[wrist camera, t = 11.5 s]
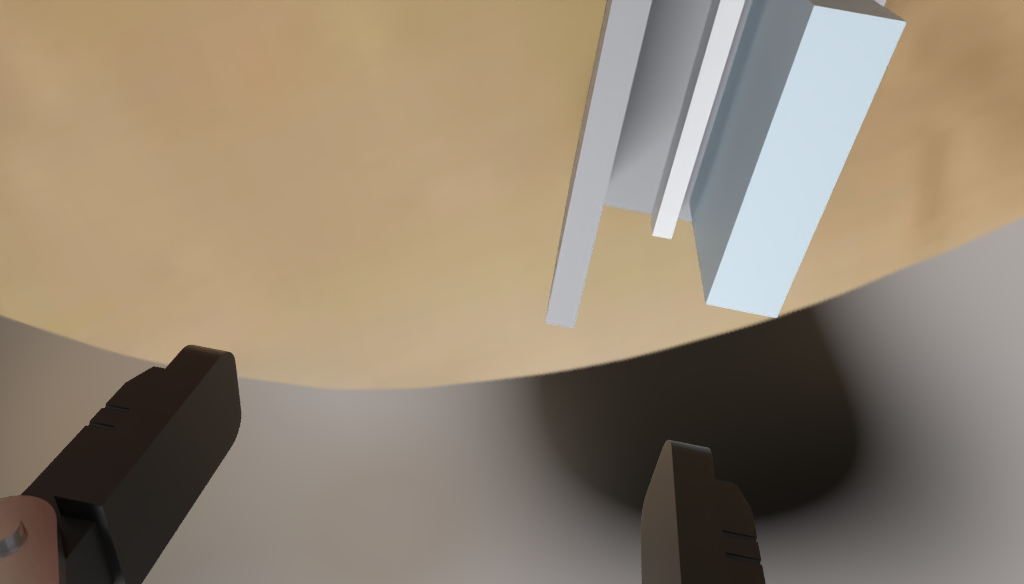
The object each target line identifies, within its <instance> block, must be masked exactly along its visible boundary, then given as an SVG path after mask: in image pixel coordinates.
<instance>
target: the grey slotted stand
mask: <svg viewBox="0 0 1024 584" xmlns="http://www.w3.org/2000/svg"><path fill="white" fill-rule="evenodd" d="M874 1H876V2H877V3H879V4H880V5H882V6H883V7H884V5H885V3H886V0H874ZM751 3H752V0H607V3H606V8H605V13H604V18H603V23H602V28H601V33H600V38H599V43H598V47H597V52H596V57H595V62H594V67H593V72H592V77H591V82H590V87H589V91H588V96H587V101H586V106H585V111H584V116H583V121H582V126H581V131H580V135H579V140H578V145H577V150H576V155H575V160H574V165H573V170H572V175H571V180H570V185H569V190H568V196H567V202H566V207H565V213H564V219H563V224H562V230H561V236H560V241H559V247H558V253H557V258H556V264H555V270H554V275H553V281H552V287H551V292H550V298H549V304H548V309H547V315H546V321H545V323H548V324H553V325H558V326H563V327H568V328H573V329H574V326H575V322H576V318H577V313H578V309H579V305H580V301H581V297H582V293H583V288H584V284H585V280H586V276H587V272H588V267H589V263H590V259H591V255H592V251H593V246H594V242H595V238H596V234H597V230H598V225H599V221H600V217H601V213H602V209H603V205H606V206H611V207H616V208H622V209H627V210H632V211H637V212H642V213H648V214H651V223H652V236H657V237H662V238H668V239H671V238H672V235H673V232H674V229H675V225H676V222H677V219H679V220H684V221H689V222H692V217H691V211H690V205H689V200H690V197H691V194H692V191H693V187H694V184H695V181H696V178H697V175H698V172H699V168H700V165H701V162H702V159H703V156H704V152H705V149H706V146H707V143H708V140H709V137H710V133H711V130H712V127H713V124H714V121H715V118H716V114H717V111H718V108H719V105H720V102H721V98H722V95H723V92H724V89H725V86H726V83H727V79H728V76H729V73H730V70H731V67H732V64H733V60H734V57H735V54H736V51H737V48H738V45H739V41H740V38H741V35H742V32H743V29H744V25H745V22H746V19H747V16H748V13H749V10H750V6H751Z"/></svg>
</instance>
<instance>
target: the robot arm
mask: <svg viewBox="0 0 1024 584" xmlns="http://www.w3.org/2000/svg"><path fill="white" fill-rule="evenodd" d="M240 422H241V406H240V397H239V389H238V381H237V371H236V363H235V358H234V356H233V354H232V353H231V352H226V351H221V350H216V349H211V348H206V347H201V346H196V345H188V346H186V347H184V348H183V349H182V350H181V351H180V353H179V354H178V355H177V356H176V357H175V358H174V359H173V360H172V362H171V363H170V364H169V365H168V366H167V367H166V368H165V369H164V368H159V367H152V368H150V369H148V370H147V371H145V372H143V373H141V374H140V375H138V376H136V377H135V378H133V379H131V380H129V381H128V382H126V383H125V384H124V385H123V386H122V387H121V388H120V389H119V390H118V391H117V392H116V394H115V395H114V396H113V397H112V398H111V399H110V400H109V401H108V402H107V403H106V407H105V408H102V409H101V410H100V411H99V412H98V413H97V414H96V415H95V416H94V417H93V418H92V419H91V420H90V424H89V426H85V427H84V428H83V429H82V430H81V431H80V432H79V433H78V434H77V435H76V437H75V438H74V439H73V440H72V441H71V442H70V443H69V444H68V445H67V446H66V447H65V448H64V449H63V450H62V452H61V453H60V454H59V455H58V456H57V457H56V458H55V459H54V460H53V461H52V462H51V463H50V464H49V466H48V467H47V468H46V469H45V470H44V471H43V472H42V473H41V474H40V475H39V476H38V478H36V480H35V481H34V482H33V483H32V484H31V485H30V486H29V487H28V488H27V489H26V490H25V491H24V492H23V493H22V494H21V495H19V496H9V497H5V498H0V584H142V582H143V581H144V579H145V578H146V576H147V575H148V573H149V572H150V570H151V569H152V567H153V566H154V564H155V563H156V561H157V559H158V558H159V556H160V555H161V553H162V552H163V550H164V549H165V547H166V546H167V544H168V543H169V541H170V540H171V538H172V537H173V535H174V534H175V532H176V531H177V529H178V527H179V526H180V524H181V523H182V521H183V520H184V518H185V517H186V515H187V514H188V512H189V510H190V509H191V508H192V506H193V505H194V503H195V502H196V500H197V498H198V497H199V495H200V494H201V492H202V491H203V489H204V488H205V486H206V485H207V483H208V482H209V480H210V479H211V477H212V475H213V474H214V473H215V471H216V469H217V468H218V467H219V465H220V463H221V462H222V460H223V459H224V457H225V456H226V454H227V452H228V451H229V450H230V448H231V447H232V445H233V443H234V441H235V439H236V437H237V434H238V431H239V427H240ZM756 538H757V535H756V530H755V524H754V519H753V514H752V510H751V508H750V506H749V504H748V503H747V501H746V500H745V498H744V496H743V495H742V493H741V492H740V490H739V488H738V487H737V485H736V484H735V483H730V482H725V481H719V480H715V474H714V467H713V459H712V453H711V450H710V449H709V448H707V447H702V446H697V445H692V444H686V443H681V442H676V441H671V440H667V441H666V442H665V445H664V447H663V449H662V452H661V455H660V458H659V460H658V463H657V466H656V469H655V472H654V474H653V477H652V480H651V483H650V486H649V488H648V491H647V494H646V497H645V501H644V506H643V512H642V519H641V563H642V564H641V566H642V567H641V568H642V584H765V578H764V573H763V568H762V565H760V561H761V557H760V551H759V546H758V542H756Z"/></svg>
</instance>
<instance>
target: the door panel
mask: <svg viewBox="0 0 1024 584" xmlns="http://www.w3.org/2000/svg"><path fill="white" fill-rule="evenodd" d="M905 24H906V21H905V20H903V19H902V18H900V17H899V16H897V15H895V14H894V13H892V12H891V11H889V10H888V9H886V8H885V7H883V6H882V5H880V4H879V3H877V2H876V1H874V0H752V3H751V6H750V10H749V13H748V16H747V19H746V22H745V25H744V29H743V32H742V35H741V38H740V41H739V45H738V48H737V51H736V54H735V57H734V60H733V64H732V67H731V70H730V73H729V76H728V79H727V83H726V86H725V89H724V92H723V95H722V98H721V102H720V105H719V108H718V111H717V114H716V118H715V121H714V124H713V127H712V130H711V133H710V137H709V140H708V143H707V146H706V149H705V152H704V156H703V159H702V162H701V165H700V168H699V172H698V175H697V178H696V181H695V184H694V187H693V191H692V194H691V197H690V200H689V205H690V211H691V217H692V223H693V230H694V236H695V242H696V248H697V254H698V260H699V266H700V272H701V279H702V285H703V291H704V297H705V303H706V304H708V305H713V306H718V307H723V308H728V309H733V310H738V311H743V312H748V313H753V314H758V315H764V316H769V317H774V318H777V316H778V314H779V311H780V309H781V307H782V305H783V302H784V300H785V298H786V295H787V293H788V291H789V289H790V286H791V284H792V282H793V280H794V277H795V275H796V273H797V270H798V268H799V266H800V264H801V261H802V259H803V257H804V254H805V252H806V250H807V248H808V245H809V243H810V241H811V239H812V236H813V234H814V232H815V229H816V227H817V225H818V223H819V220H820V218H821V216H822V213H823V211H824V209H825V207H826V204H827V202H828V200H829V198H830V195H831V193H832V191H833V188H834V186H835V184H836V182H837V179H838V177H839V175H840V172H841V170H842V168H843V166H844V163H845V161H846V159H847V157H848V154H849V152H850V150H851V147H852V145H853V143H854V141H855V138H856V136H857V134H858V131H859V129H860V127H861V125H862V122H863V120H864V118H865V116H866V113H867V111H868V109H869V106H870V104H871V102H872V100H873V97H874V95H875V93H876V91H877V88H878V86H879V84H880V81H881V79H882V77H883V75H884V72H885V70H886V68H887V65H888V63H889V61H890V59H891V56H892V54H893V52H894V50H895V47H896V45H897V43H898V40H899V38H900V36H901V34H902V31H903V29H904V27H905Z"/></svg>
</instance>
